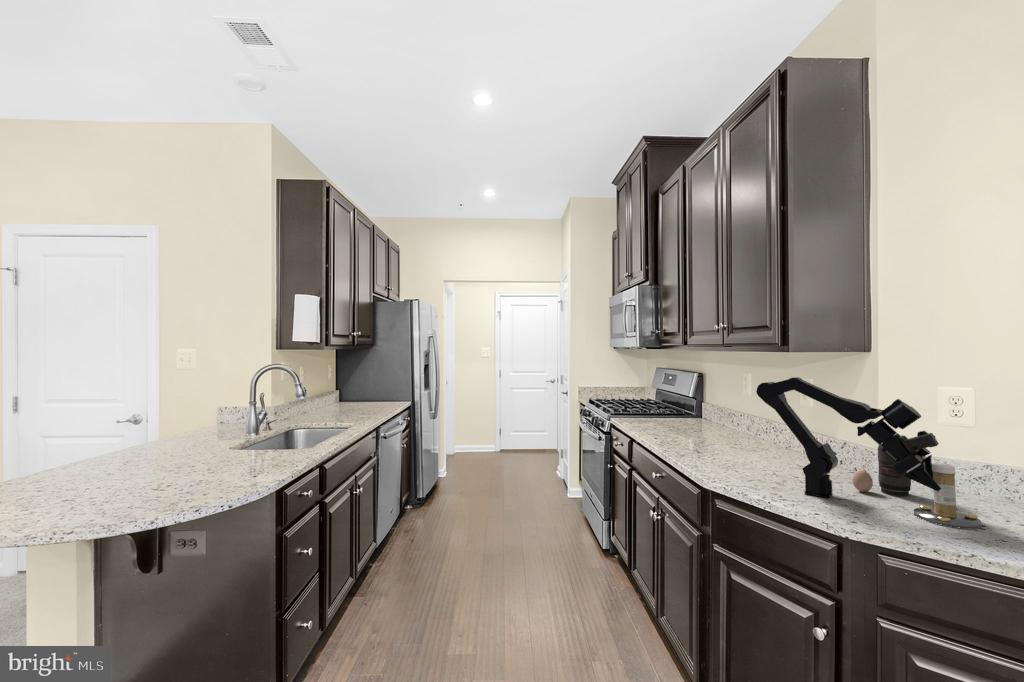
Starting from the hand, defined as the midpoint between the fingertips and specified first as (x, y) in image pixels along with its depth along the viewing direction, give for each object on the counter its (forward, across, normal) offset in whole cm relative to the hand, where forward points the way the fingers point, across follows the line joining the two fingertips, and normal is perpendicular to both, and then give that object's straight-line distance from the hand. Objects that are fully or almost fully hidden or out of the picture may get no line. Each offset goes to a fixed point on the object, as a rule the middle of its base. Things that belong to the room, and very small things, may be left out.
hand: (941, 486), depth 122 cm
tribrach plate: (+7, 0, +5) cm, 9 cm away
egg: (-8, +14, +20) cm, 26 cm away
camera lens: (-3, +19, +15) cm, 24 cm away
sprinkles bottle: (+6, 0, +5) cm, 8 cm away
